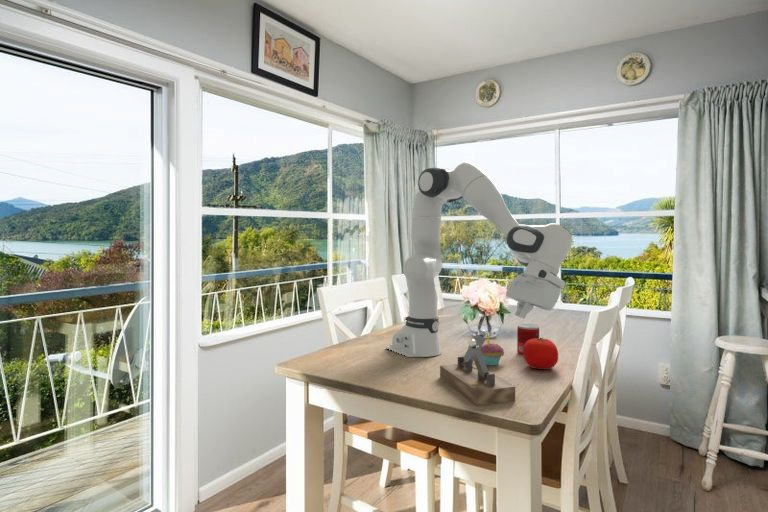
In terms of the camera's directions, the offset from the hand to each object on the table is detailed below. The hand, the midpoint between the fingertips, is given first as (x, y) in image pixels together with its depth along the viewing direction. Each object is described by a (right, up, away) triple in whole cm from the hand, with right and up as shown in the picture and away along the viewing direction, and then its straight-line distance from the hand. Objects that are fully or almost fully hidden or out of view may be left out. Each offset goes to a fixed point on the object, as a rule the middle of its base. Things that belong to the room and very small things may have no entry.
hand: (519, 316), depth 131 cm
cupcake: (-2, -21, +27) cm, 34 cm away
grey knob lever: (-15, -17, +8) cm, 23 cm away
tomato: (+14, -21, +22) cm, 33 cm away
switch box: (-13, -22, +2) cm, 25 cm away
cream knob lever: (-11, -17, -5) cm, 21 cm away
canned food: (+15, -20, +39) cm, 47 cm away
